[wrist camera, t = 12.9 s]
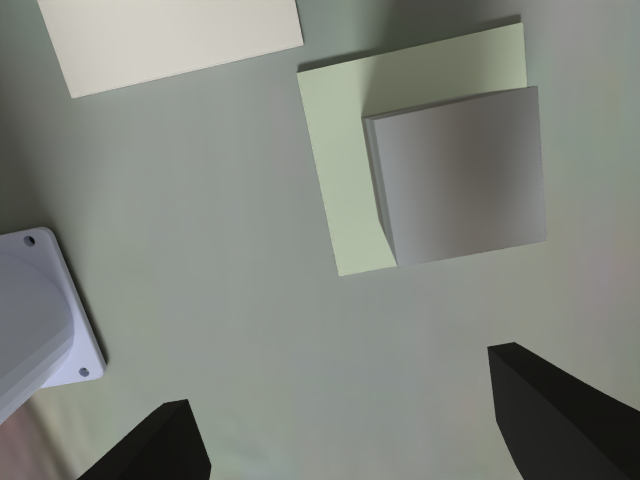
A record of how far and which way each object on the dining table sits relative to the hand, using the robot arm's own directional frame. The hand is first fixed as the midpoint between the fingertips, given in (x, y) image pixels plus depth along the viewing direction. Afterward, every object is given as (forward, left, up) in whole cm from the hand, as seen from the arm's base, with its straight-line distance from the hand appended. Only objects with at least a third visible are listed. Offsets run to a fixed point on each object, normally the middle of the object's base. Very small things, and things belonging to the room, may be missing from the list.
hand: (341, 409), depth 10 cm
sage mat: (+4, +4, -10) cm, 12 cm away
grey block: (+4, +4, -10) cm, 12 cm away
